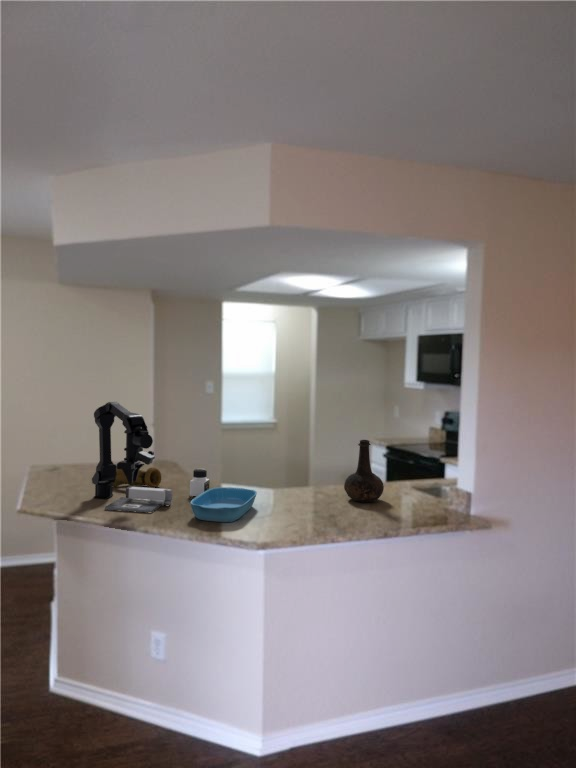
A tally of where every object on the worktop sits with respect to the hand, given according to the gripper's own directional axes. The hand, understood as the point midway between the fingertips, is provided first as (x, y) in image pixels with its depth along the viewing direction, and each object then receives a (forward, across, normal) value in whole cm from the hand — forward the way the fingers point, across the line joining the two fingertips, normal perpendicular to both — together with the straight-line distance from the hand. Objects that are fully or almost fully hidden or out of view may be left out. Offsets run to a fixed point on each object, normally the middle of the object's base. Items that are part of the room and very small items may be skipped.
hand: (132, 482), depth 228 cm
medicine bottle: (+11, +29, -20) cm, 37 cm away
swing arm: (+9, +9, -4) cm, 13 cm away
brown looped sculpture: (+11, +37, +16) cm, 42 cm away
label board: (+11, +4, -2) cm, 12 cm away
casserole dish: (+12, +5, -38) cm, 40 cm away
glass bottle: (+11, +40, -95) cm, 104 cm away
